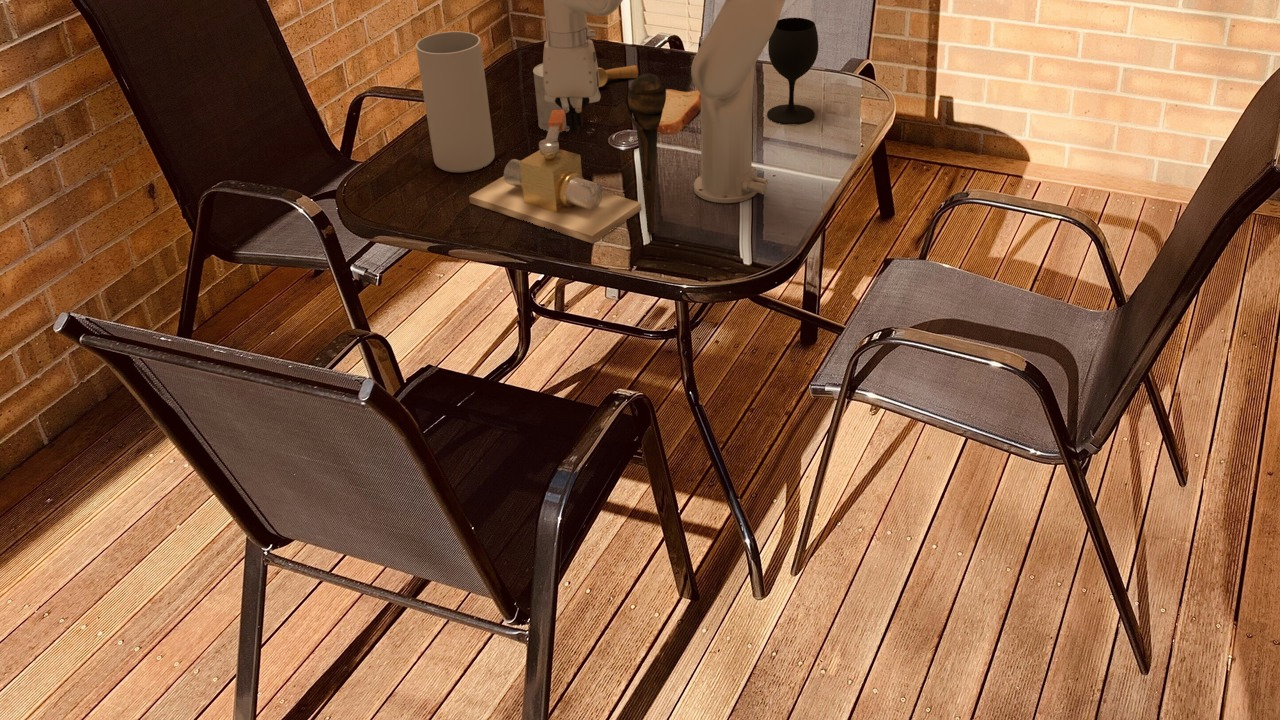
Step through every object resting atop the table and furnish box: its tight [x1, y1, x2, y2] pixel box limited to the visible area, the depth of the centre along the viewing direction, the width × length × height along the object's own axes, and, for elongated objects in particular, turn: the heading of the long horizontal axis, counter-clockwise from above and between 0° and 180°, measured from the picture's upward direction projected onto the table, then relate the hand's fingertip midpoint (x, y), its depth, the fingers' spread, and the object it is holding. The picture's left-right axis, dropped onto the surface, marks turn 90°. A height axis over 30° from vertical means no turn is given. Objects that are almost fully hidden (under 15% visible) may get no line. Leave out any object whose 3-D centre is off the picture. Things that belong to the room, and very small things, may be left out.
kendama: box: [598, 64, 639, 88], centre depth 265 cm, size 8×6×18 cm
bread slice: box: [657, 88, 701, 136], centre depth 249 cm, size 18×18×4 cm
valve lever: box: [538, 110, 566, 156], centre depth 215 cm, size 17×4×2 cm, turn 176°
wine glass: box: [766, 17, 819, 125], centre depth 241 cm, size 10×10×20 cm
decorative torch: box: [625, 72, 667, 235], centre depth 197 cm, size 7×7×30 cm
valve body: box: [503, 148, 604, 213], centre depth 213 cm, size 20×8×10 cm, turn 54°
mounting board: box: [468, 175, 642, 244], centre depth 216 cm, size 30×15×2 cm, turn 54°
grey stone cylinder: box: [532, 62, 576, 133], centre depth 245 cm, size 10×10×12 cm
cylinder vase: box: [415, 30, 496, 174], centre depth 227 cm, size 12×12×25 cm
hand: (575, 129), depth 219 cm, fingers closed
